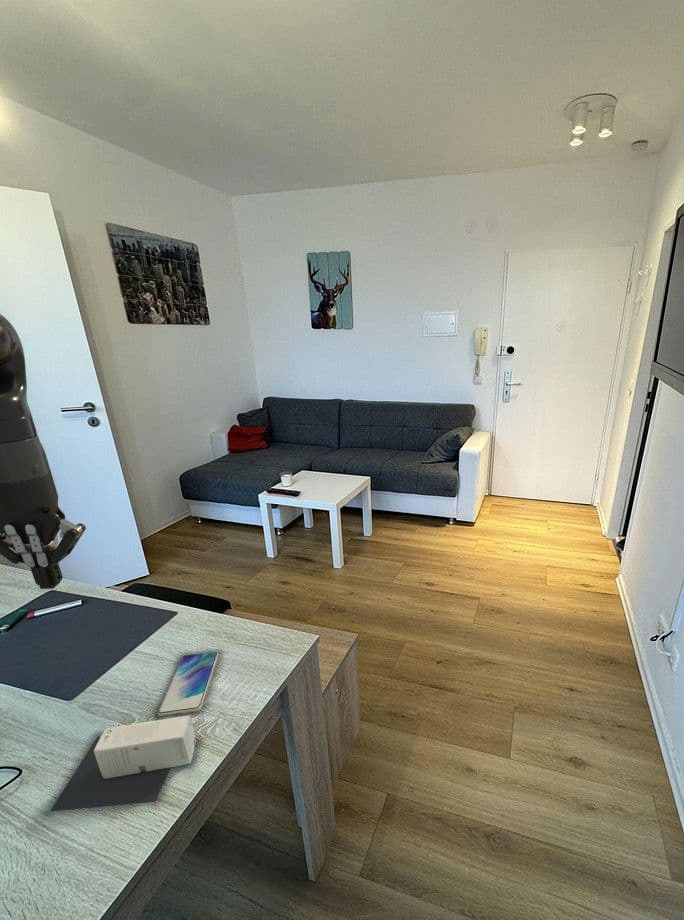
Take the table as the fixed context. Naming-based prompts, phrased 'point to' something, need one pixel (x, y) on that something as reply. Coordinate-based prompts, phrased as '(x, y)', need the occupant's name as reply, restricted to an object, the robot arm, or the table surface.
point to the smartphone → (189, 684)
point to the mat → (108, 786)
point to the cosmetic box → (145, 747)
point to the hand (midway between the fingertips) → (50, 585)
